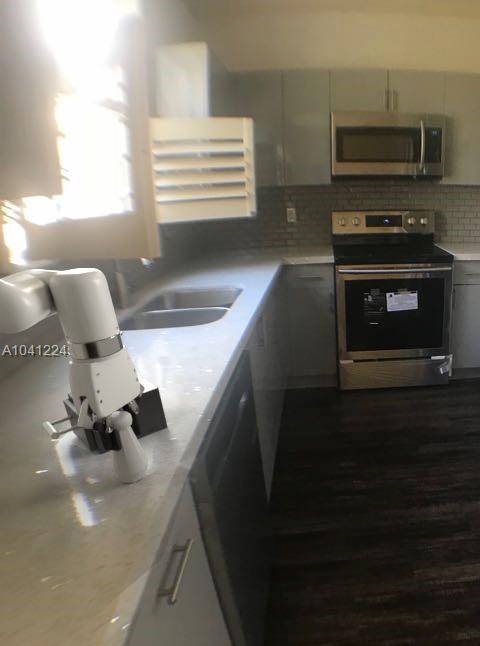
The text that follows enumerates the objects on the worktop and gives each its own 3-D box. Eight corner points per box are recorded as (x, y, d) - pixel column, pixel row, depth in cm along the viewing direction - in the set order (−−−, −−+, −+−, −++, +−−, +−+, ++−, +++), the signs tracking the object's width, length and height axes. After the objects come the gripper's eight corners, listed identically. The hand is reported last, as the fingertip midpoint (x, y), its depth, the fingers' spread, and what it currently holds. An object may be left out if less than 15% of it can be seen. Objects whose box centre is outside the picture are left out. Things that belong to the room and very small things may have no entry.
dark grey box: (99, 454, 91) (87, 412, 88) (79, 432, 99) (67, 393, 96) (167, 427, 100) (158, 387, 97) (144, 409, 108) (135, 372, 105)
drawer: (62, 463, 87) (50, 428, 84) (46, 442, 94) (34, 409, 91) (155, 426, 99) (147, 394, 96) (134, 410, 106) (126, 379, 103)
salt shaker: (137, 463, 88) (121, 404, 83) (157, 471, 86) (142, 410, 81) (108, 481, 83) (89, 419, 78) (129, 489, 81) (111, 426, 76)
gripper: (115, 328, 83) (138, 416, 90) (30, 365, 68) (66, 467, 75) (151, 330, 81) (172, 419, 88) (73, 368, 66) (105, 472, 73)
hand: (123, 440), depth 81 cm, fingers closed on salt shaker, 4 cm apart
